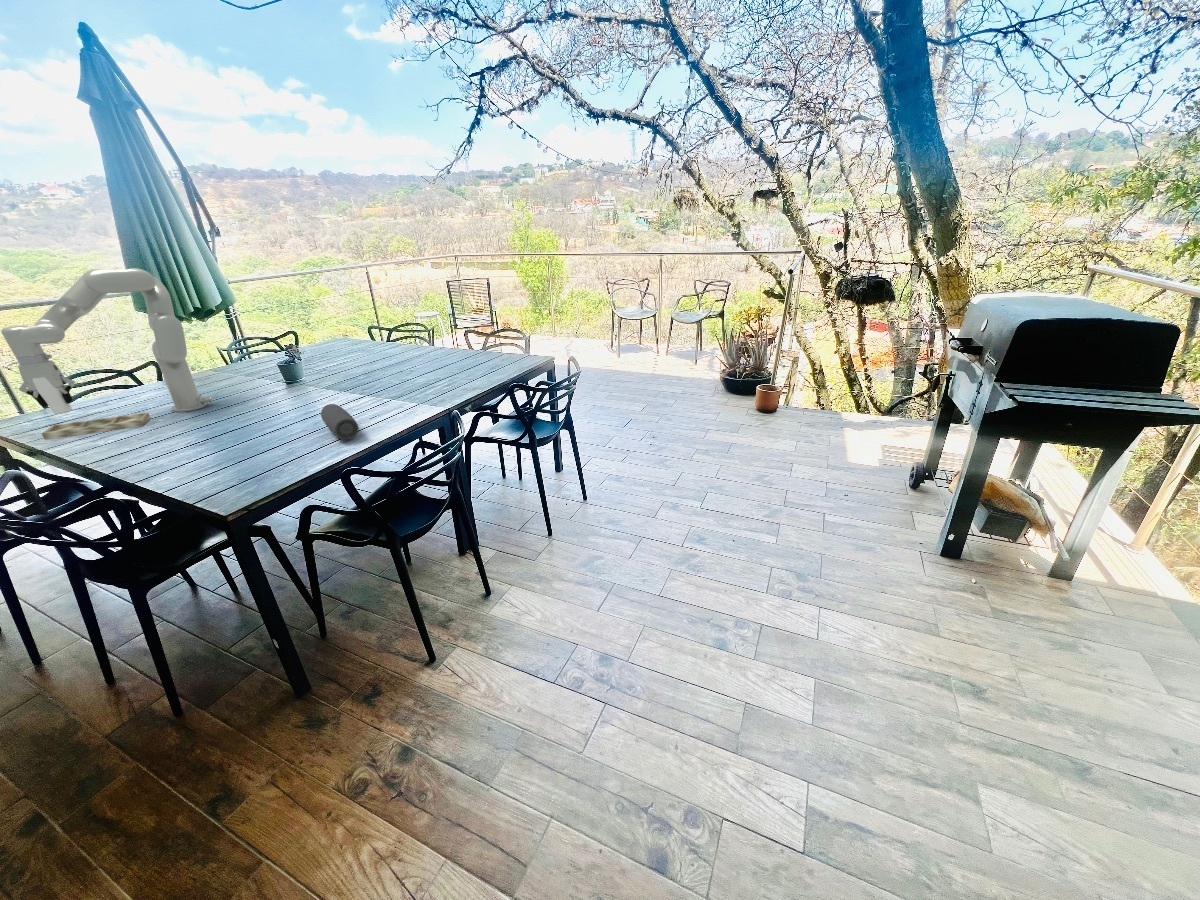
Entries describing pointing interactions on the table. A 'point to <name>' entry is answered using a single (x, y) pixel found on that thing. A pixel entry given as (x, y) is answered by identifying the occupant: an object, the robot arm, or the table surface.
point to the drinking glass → (51, 396)
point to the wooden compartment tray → (96, 425)
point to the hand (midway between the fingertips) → (57, 403)
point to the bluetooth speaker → (339, 421)
